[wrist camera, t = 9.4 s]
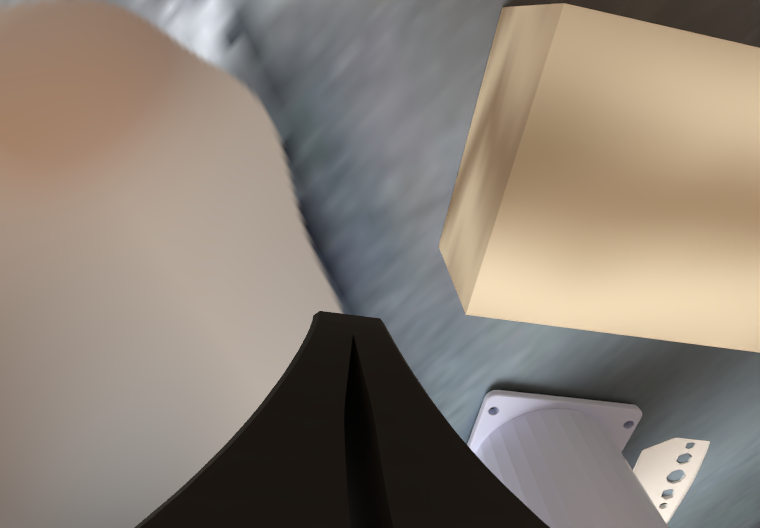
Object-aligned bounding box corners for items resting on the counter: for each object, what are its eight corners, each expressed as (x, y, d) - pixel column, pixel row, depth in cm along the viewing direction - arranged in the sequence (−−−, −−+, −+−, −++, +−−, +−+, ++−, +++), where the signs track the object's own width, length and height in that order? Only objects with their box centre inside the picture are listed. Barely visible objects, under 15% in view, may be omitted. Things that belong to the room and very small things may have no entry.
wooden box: (744, 291, 21) (850, 364, 17) (438, 246, 19) (465, 314, 15) (867, 88, 17) (1045, 113, 13) (502, 7, 16) (564, 3, 11)
